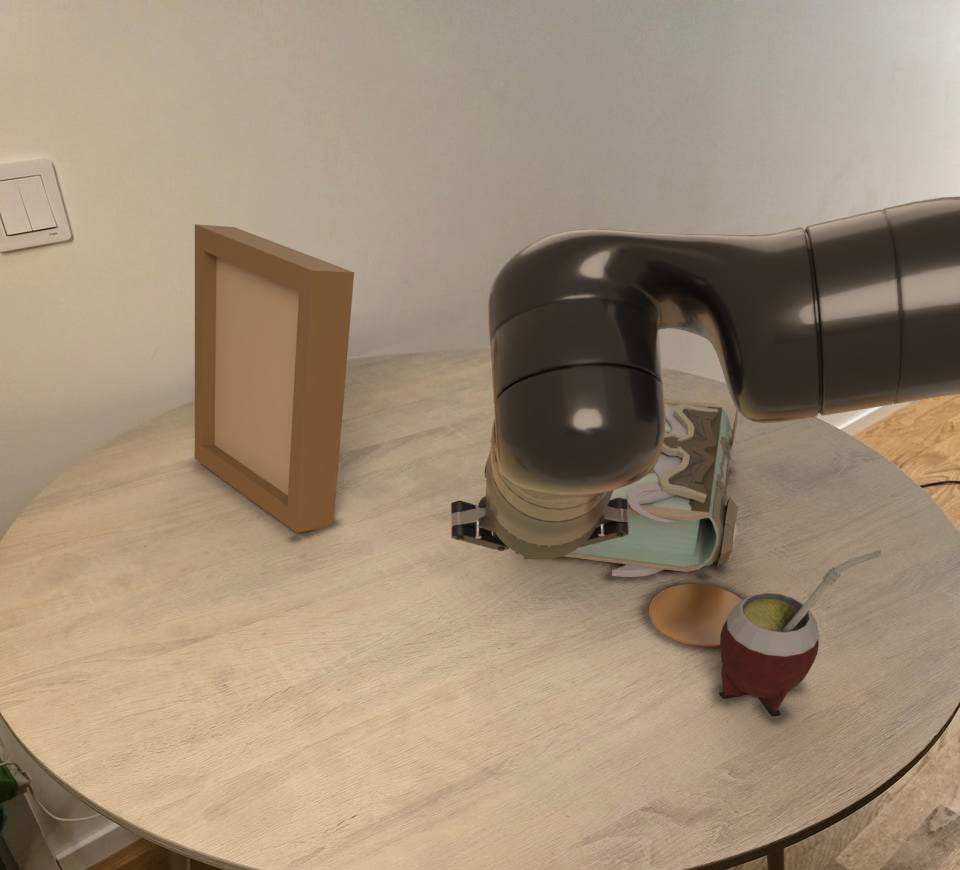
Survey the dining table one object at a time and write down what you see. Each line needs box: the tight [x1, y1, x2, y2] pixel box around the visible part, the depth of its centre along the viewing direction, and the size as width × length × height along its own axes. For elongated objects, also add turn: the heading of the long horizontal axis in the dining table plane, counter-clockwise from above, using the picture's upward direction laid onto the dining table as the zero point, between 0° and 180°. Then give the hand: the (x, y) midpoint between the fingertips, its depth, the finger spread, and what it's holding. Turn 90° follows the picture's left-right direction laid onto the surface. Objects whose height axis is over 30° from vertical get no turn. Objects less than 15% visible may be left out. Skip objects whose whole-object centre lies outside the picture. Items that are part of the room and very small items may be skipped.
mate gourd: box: [718, 549, 882, 718], centre depth 66 cm, size 8×8×15 cm
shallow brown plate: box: [648, 583, 743, 648], centre depth 78 cm, size 9×9×1 cm
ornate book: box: [510, 398, 739, 578], centre depth 91 cm, size 23×10×30 cm
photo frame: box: [194, 223, 355, 534], centre depth 92 cm, size 15×22×25 cm
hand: (533, 546), depth 71 cm, fingers closed
